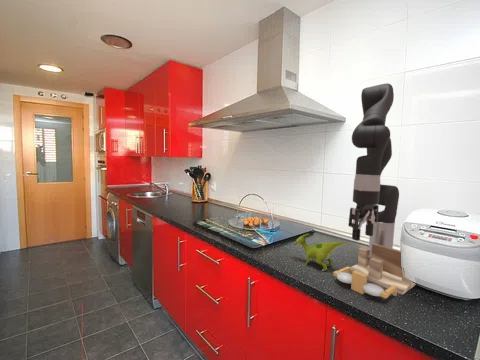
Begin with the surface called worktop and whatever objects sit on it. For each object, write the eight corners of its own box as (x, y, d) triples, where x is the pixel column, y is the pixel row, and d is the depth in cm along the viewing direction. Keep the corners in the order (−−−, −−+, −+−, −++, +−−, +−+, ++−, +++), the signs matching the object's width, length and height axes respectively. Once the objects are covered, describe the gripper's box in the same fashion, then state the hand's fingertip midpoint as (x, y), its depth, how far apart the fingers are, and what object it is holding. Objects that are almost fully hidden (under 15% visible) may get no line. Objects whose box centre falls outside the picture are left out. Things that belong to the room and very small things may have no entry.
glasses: (346, 274, 93) (347, 258, 92) (397, 295, 79) (399, 278, 78) (330, 281, 87) (331, 265, 86) (382, 306, 72) (384, 287, 72)
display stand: (363, 264, 102) (365, 240, 101) (416, 284, 87) (419, 255, 86) (347, 272, 95) (349, 245, 94) (402, 294, 80) (405, 263, 79)
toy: (310, 269, 106) (296, 236, 110) (358, 258, 94) (340, 221, 97) (302, 276, 100) (287, 240, 104) (351, 264, 87) (333, 225, 91)
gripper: (365, 186, 85) (362, 231, 87) (343, 188, 77) (339, 238, 78) (388, 189, 79) (384, 237, 81) (367, 191, 71) (363, 245, 72)
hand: (362, 237), depth 80 cm, fingers open, 8 cm apart
